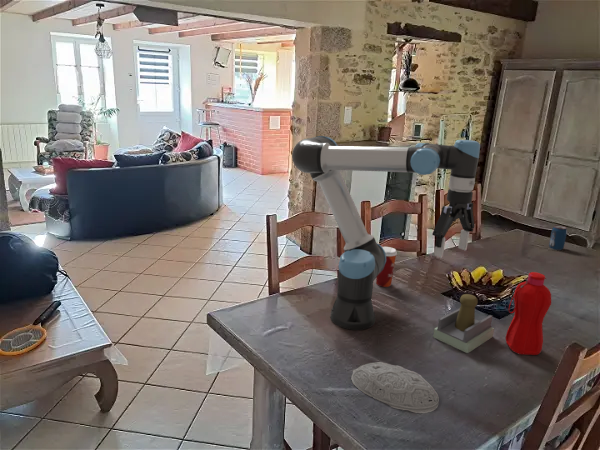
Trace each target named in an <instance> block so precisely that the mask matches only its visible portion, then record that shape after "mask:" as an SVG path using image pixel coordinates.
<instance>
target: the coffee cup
mask: <svg viewBox="0 0 600 450" xmlns="http://www.w3.org/2000/svg"><path fill="white" fill-rule="evenodd" d="M382 248H383V249H384V251H385V253H386V263H385V266H384V268H383V270H382V271H381V272H380V273H379V274H378V276H377V277H376V278H375V280H376V285H377V286H379V287H383V288H388V287H391V285H392V281H393V275H394V269H395V264H396V263H395V262H396V259H397V255H398V252H397V249H396V248H393V247H390V246H382Z"/></svg>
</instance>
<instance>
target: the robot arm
mask: <svg viewBox="0 0 600 450" xmlns="http://www.w3.org/2000/svg"><path fill="white" fill-rule="evenodd" d="M480 149H481V143H480V142H478V141H476V140H471V139H457V140H456V141H455V142H454V145H446V144H437V143H429V142H418V143H416V144H415V147H413V146H412V147H409V146H408V147H406V146H404V147H403V146H400V147H399V146H359V145H358V146H355V145H354V146H353V145H351V146H350V145H349V146H347V145H346V146H345V145H343V146H341V145H338V143H337V142H336V141H335V140H334V139H332V138H331V137H329V136H324V135H317V136H313V137H309V138H304V139H301V140H300V141H298V142H297V143H296V144H295V146H294V147H293V149H292V153H291V154H292V155H291V158H292V162H293V164H294V166H295V167H296V169H298V170H299V171H300V172H302V173H305V174H309V176H310V177H311V180H312V181H314V182H317V183H318V184H319V187H320V188H321V191H322V193H323V195H324V198H325V200H326V202H327V205H328V207H329V209H330V211H331V213H332V216H333V217H334V220H335V222H336V225H337V227H338V229H339V231H340V234H341V236H342V238H343V240H344V243H345V245H344V247H343V251H344V252H343V253H342V254H341V255H340V257H339V262H338V266H337V267H338V276H337V277H338V278H337V291H336V299H335V301H334V303H333V305H332V308H331V310H330V320H331V322H332V323H333V324H335V326H338V327H340V328H343V329H347V330H353V331H354V330H355V331H357V330H358V331H360V330H361V331H362V330H365V329H369V328H371V327H372V326H373V325H375V322H376V313H375V311H374V307H373V299H372V296H373V288H374V287H373V286H374V281H375V280H376V277H377V276H378V274H379V273H380V272H381V271H382V270H383V268H384V266H385V263H386V253H385V251H384V249H383V248H382V247H383V246H382V245H381V244H379V243H377V240H376V238H375V236H374V235H372V234H370V233H368V232H367V229H366V226H365V225H364V221H363V220H362V217H361V216H360V214H359V211H358V209H357V206H356V204H355V202H354V199H353V197H352V195H351V193H350V191H349V188H348V186H347V184H346V182H345V180H344V176H343V175H342V171H353V172H354V171H355V172H356V171H358V172H359V171H360V172H390V173H391V172H392V173H410V174H411V173H413V174H415V173H416V174H418V175H420V176H426V175H427V176H428V175H431V174H432V173H434V172H435V171H437V169H438V170H439V169H441V170H450V176H449V181H448V189H447V194H446V201H448V202H449V205H448V206H446V205H442V208H441V212H440V215H439V217H438V219H437V222H436V224H435V226H434V229H433V231H432V236H433V237H436V239H435V244H434V245H435V248H434V256H435V257H439V258H440V259H441V258H443V257H444V251H445V244H446V237H445V236H446V235H447V232H448V231H449V230H450V228H451V226H452V225H453V223H454V222H456V221H457V220H458V219H459V222H460V225H461V227H462V229H461V230H460V235H459V241H458V245H457V246H458V248H457V249H459V250H463V251H467V248H468V243H469V238H470V232H471V233H473V231H474V228H476V227H475V217H474V209H473V207H474V203H473V202H472V201H473V194H474V192H473V190H474V187H475V184H476V176H477V175H476V174H477V170H478V164H479V159H480V152H481V150H480Z"/></svg>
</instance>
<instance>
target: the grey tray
mask: <svg viewBox="0 0 600 450" xmlns="http://www.w3.org/2000/svg"><path fill="white" fill-rule="evenodd" d="M459 310H460V307H458V308H457V309H455V310H453V311H451V312H450V313H447V314H446V315H443V316H442V317H440V318H439V319H438V323H437V326H436V327H434V329H433V334H432V335H433V336H432V338H434V339H436V340H438V341H441V342H442V343H444V344H446V345H449V346H451V347H453V348H455V349H457V350H459V351H462V352H463V353H466V354H470V353H471V352H472V351H473V350H475V349H476V348H478V347H480V346H481V345H483V344H484V343H486V342H487V341H488V340H490V339H491V338H493V337H494V331H495V328H494V327H492V321H493V316H494V315H491V314H489V315H488V316H486V317H485V318H482V319H481V320H478V319H476V318H475V324H474V325H472V326H471V327H469V328H467V329H466V330H465V331H461V330H459V329H457V328H456V327H455V323H456V319H457V316H458V313H459Z"/></svg>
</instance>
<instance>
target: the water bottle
mask: <svg viewBox="0 0 600 450" xmlns="http://www.w3.org/2000/svg"><path fill="white" fill-rule="evenodd" d="M545 279H546V280H547V278H546V276H545V275H544V274H542V273H540V272H537V271H532V272H529V273H528V276H527V279H526V281H523V282H520V283H518V284H517V286H516V288H515V290H514V293H513V296H512V298H511V300H510V302H509V305H508V309H510V307H511V304H512V302H514V304H513V305H514V308H513V310H512V311H510V310H508V312H509V313H510V314H513V313H514V315H513V318H512V320H511V322H510V324H509V326H508V328H507V332H506V334H505V342H506V345H507V346H508V347H509V349H510V350H511V351H512V352H513V353H515V354H518V355H528V356H531V355H532V356H537V355H539V354H540V353H541V352H542V350H543V345H544V333H543V332H544V331H543V324H544V323H543V322H544V319H545V316H546V314H547V313H548V311H549V310H550V307H551V305H552V293H551V291H550V289H549V288H548V287H547V286H546V285H545V284H544V283H545Z"/></svg>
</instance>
